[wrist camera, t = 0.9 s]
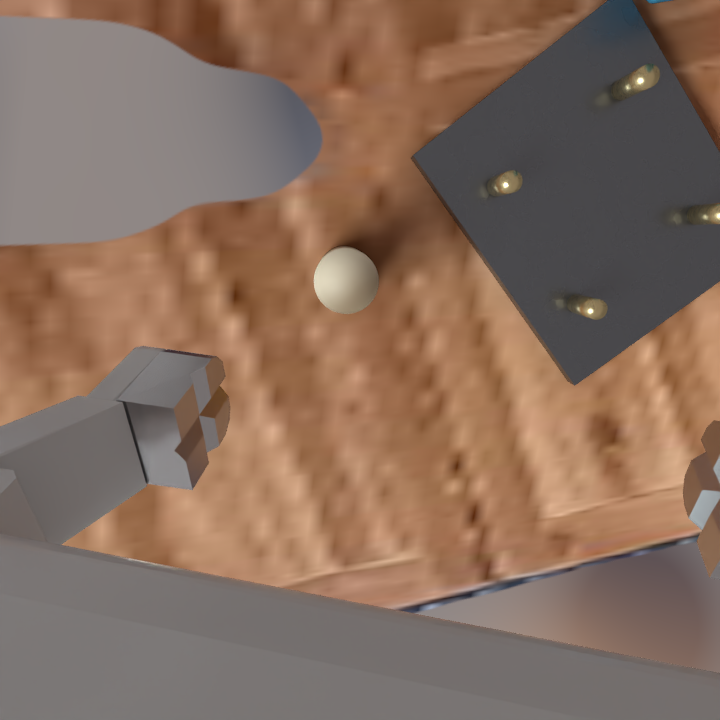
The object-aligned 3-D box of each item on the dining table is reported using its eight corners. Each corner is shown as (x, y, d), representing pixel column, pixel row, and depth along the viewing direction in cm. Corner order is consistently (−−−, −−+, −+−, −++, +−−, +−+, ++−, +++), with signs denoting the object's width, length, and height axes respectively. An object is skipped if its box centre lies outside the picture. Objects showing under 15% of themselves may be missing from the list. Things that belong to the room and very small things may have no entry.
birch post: (307, 267, 48) (300, 275, 38) (348, 235, 47) (352, 234, 38) (339, 308, 49) (340, 326, 39) (380, 277, 48) (391, 287, 38)
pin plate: (410, 157, 46) (420, 147, 41) (615, -5, 44) (653, -38, 39) (567, 381, 51) (595, 398, 46) (759, 243, 49) (811, 244, 44)
